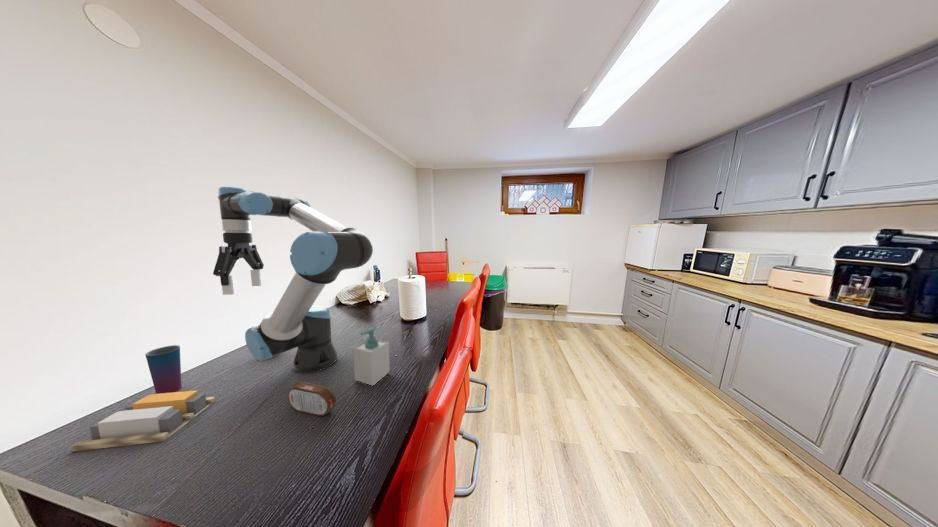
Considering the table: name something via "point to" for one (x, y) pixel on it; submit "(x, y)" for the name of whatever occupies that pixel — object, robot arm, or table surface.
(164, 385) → the cup
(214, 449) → the table surface
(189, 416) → the comb board
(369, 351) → the soap bottle
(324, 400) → the tin
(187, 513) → the table surface
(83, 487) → the table surface
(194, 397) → the grey-capped orange block
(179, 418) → the grey-capped white block
